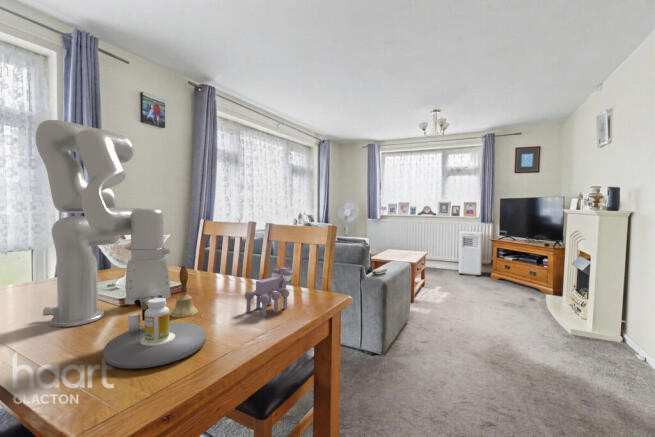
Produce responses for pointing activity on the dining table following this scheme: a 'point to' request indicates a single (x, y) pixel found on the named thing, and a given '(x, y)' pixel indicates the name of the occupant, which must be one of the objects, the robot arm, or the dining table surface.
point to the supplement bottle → (156, 321)
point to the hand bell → (184, 298)
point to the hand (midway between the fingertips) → (148, 322)
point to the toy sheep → (270, 290)
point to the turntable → (153, 345)
